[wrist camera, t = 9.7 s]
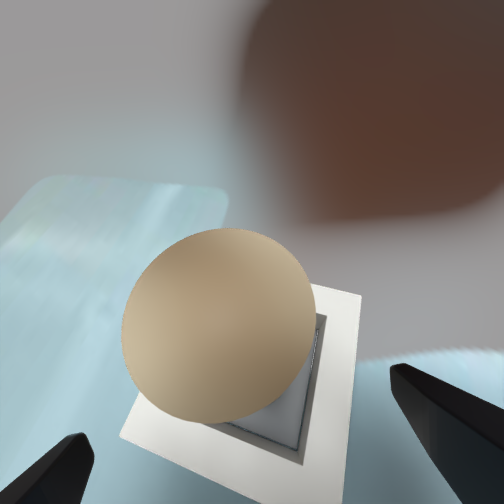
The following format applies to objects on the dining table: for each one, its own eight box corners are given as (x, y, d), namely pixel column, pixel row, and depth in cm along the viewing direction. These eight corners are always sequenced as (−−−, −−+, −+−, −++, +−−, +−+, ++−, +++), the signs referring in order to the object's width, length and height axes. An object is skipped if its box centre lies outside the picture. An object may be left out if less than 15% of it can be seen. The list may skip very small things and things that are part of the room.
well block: (323, 506, 14) (338, 540, 11) (150, 428, 17) (118, 436, 14) (347, 313, 20) (361, 295, 17) (214, 278, 23) (202, 257, 19)
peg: (261, 424, 16) (216, 492, 4) (210, 371, 18) (85, 319, 6) (303, 362, 18) (354, 291, 6) (252, 320, 20) (217, 204, 8)
